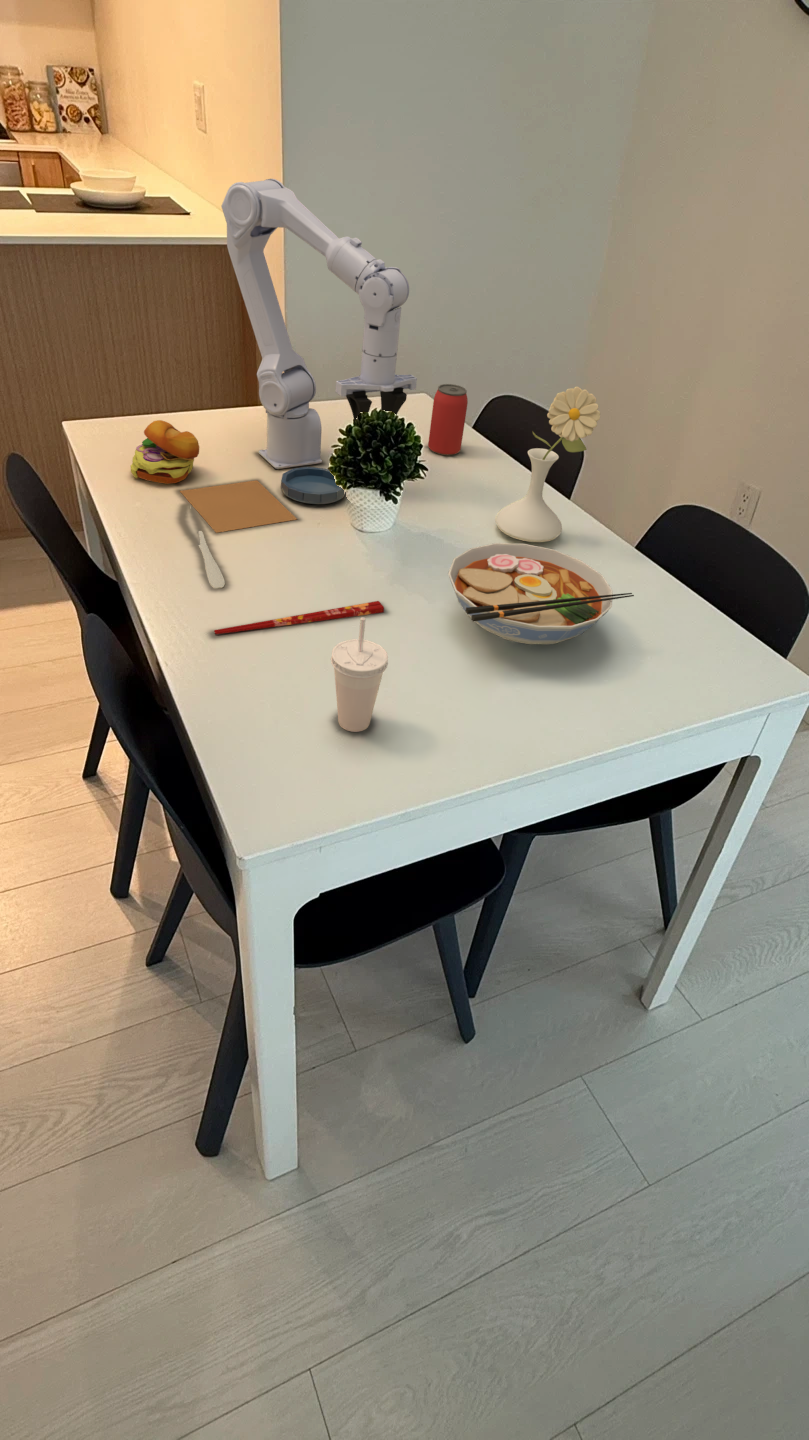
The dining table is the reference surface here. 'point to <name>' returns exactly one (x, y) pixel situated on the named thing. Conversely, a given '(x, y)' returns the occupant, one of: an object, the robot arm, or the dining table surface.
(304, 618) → the chopstick
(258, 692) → the dining table surface
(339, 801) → the dining table surface
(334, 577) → the dining table surface
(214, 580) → the butter knife
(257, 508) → the placemat
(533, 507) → the flower in vase
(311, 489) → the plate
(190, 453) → the cheeseburger
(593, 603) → the ramen bowl
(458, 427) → the beer can
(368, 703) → the smoothie
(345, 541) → the dining table surface
